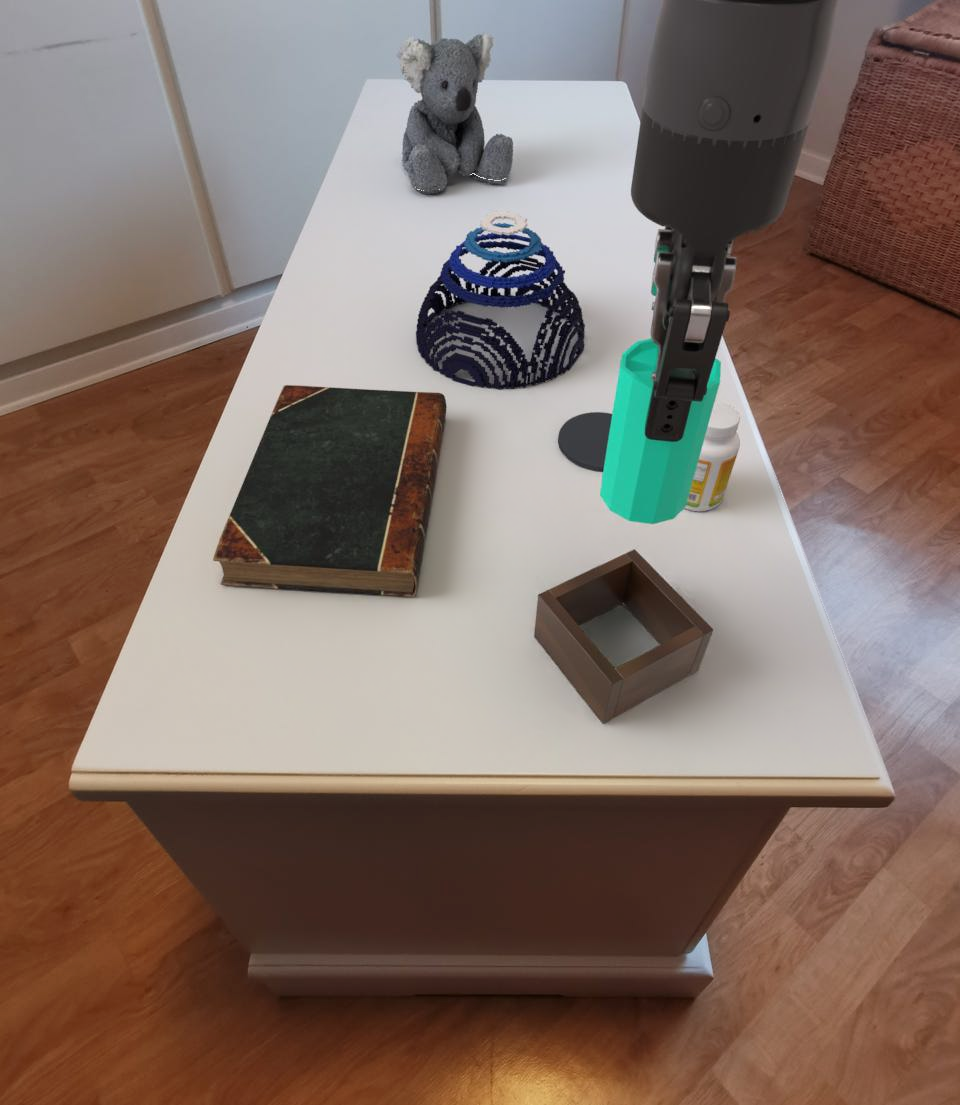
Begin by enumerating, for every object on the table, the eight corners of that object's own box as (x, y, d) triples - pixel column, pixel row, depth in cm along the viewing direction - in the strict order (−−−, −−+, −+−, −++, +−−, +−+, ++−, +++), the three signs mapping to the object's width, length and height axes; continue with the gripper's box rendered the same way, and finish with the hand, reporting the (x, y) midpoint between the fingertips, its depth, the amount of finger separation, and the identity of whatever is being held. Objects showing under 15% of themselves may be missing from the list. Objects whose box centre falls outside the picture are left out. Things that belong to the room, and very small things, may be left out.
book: (289, 410, 84) (219, 586, 67) (282, 383, 82) (209, 558, 65) (447, 419, 83) (418, 598, 67) (447, 391, 81) (415, 571, 64)
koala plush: (415, 201, 120) (407, 56, 105) (381, 158, 131) (370, 22, 116) (518, 184, 124) (524, 43, 110) (476, 144, 135) (477, 11, 121)
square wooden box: (625, 591, 67) (634, 548, 63) (698, 670, 62) (714, 629, 58) (533, 636, 64) (537, 594, 60) (602, 724, 58) (612, 684, 54)
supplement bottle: (714, 474, 78) (738, 394, 70) (729, 511, 74) (756, 431, 67) (661, 476, 77) (680, 396, 70) (673, 514, 74) (695, 434, 67)
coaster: (609, 407, 85) (610, 402, 84) (662, 453, 80) (663, 448, 79) (541, 433, 82) (541, 428, 81) (591, 483, 77) (592, 478, 76)
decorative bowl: (385, 360, 91) (374, 241, 80) (463, 283, 103) (461, 171, 92) (542, 407, 85) (552, 285, 74) (605, 319, 97) (621, 204, 86)
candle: (639, 537, 50) (674, 383, 41) (581, 485, 54) (601, 332, 45) (705, 501, 53) (751, 348, 44) (646, 453, 56) (677, 302, 47)
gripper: (836, 171, 30) (731, 489, 42) (793, 58, 40) (718, 345, 52) (641, 159, 31) (594, 475, 43) (645, 51, 40) (606, 335, 53)
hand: (662, 403), depth 48 cm, fingers closed on candle, 6 cm apart
